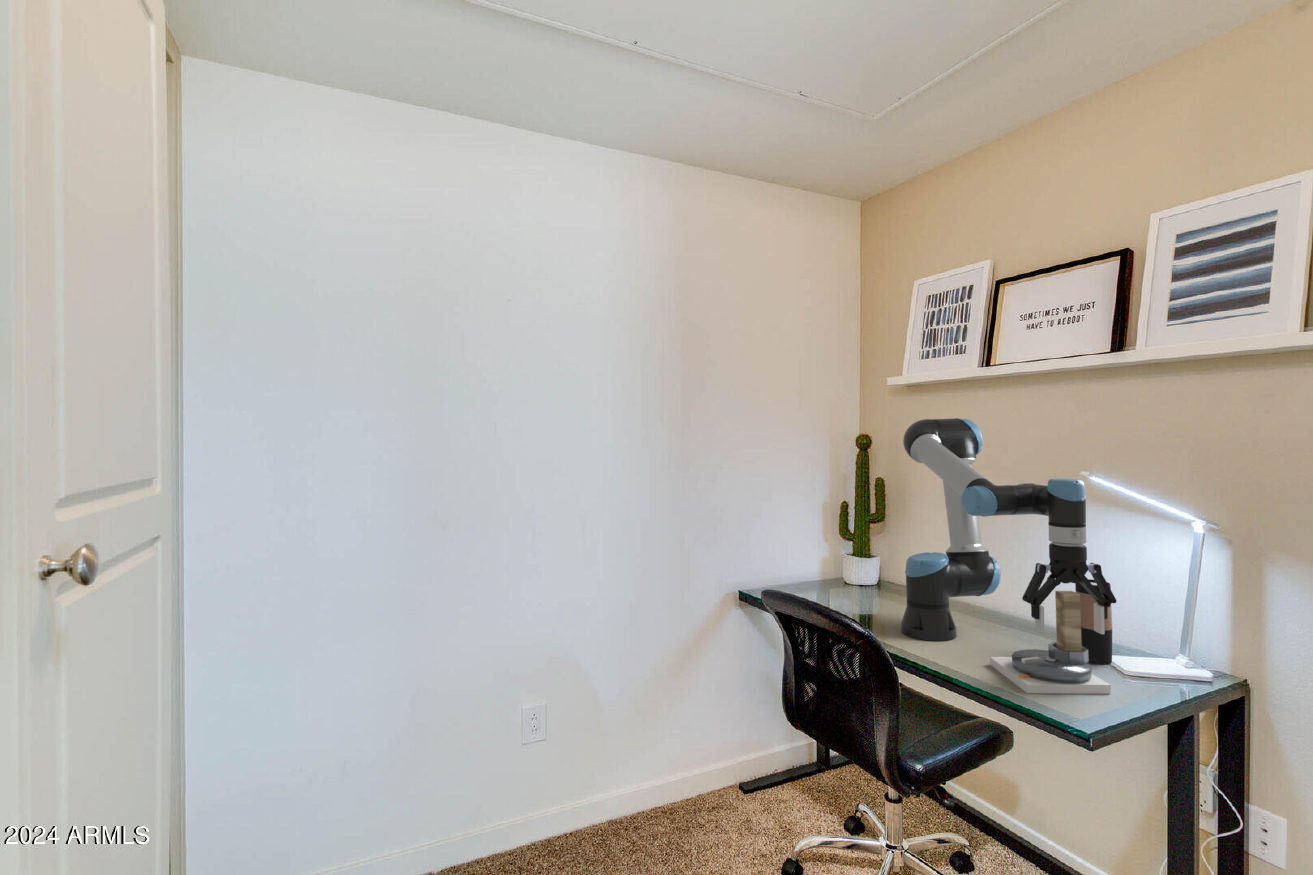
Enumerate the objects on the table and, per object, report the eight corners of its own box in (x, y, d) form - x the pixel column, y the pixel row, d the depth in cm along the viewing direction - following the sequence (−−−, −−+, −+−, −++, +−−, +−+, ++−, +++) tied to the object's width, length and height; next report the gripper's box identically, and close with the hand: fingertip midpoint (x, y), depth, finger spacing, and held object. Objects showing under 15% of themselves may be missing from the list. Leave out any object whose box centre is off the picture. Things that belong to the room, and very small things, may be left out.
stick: (1057, 656, 149) (1055, 590, 149) (1072, 656, 149) (1070, 590, 149) (1066, 662, 145) (1064, 594, 145) (1082, 662, 145) (1079, 594, 145)
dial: (1071, 658, 153) (1071, 639, 153) (1108, 683, 137) (1108, 661, 137) (1001, 656, 156) (1000, 637, 156) (1029, 680, 140) (1028, 659, 140)
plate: (990, 664, 157) (989, 654, 157) (1063, 664, 156) (1063, 655, 156) (1027, 693, 139) (1026, 682, 139) (1110, 693, 138) (1110, 682, 138)
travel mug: (1078, 652, 164) (1076, 577, 165) (1114, 658, 160) (1111, 581, 160) (1075, 660, 159) (1073, 583, 159) (1112, 667, 154) (1110, 586, 154)
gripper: (1021, 546, 144) (1023, 637, 144) (1133, 545, 142) (1135, 637, 142) (1005, 541, 152) (1007, 627, 152) (1111, 540, 150) (1113, 627, 150)
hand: (1069, 632), depth 147 cm, fingers open, 13 cm apart
